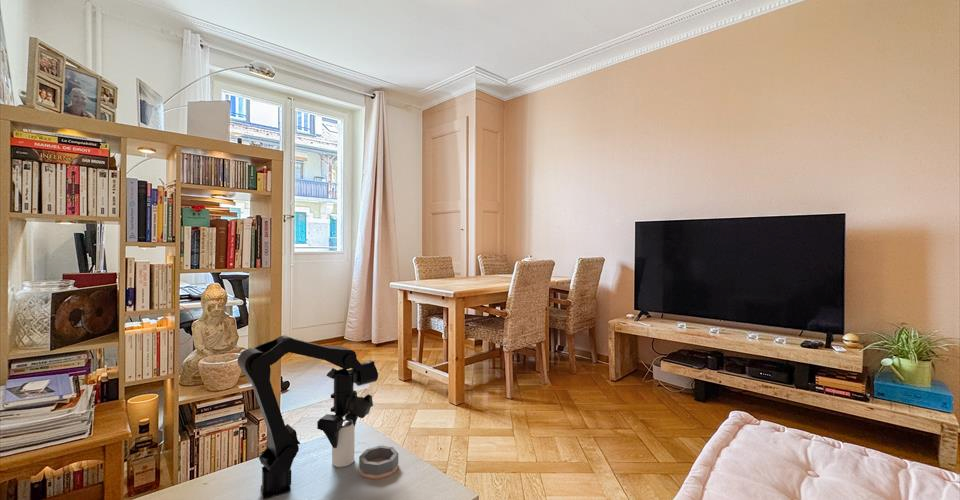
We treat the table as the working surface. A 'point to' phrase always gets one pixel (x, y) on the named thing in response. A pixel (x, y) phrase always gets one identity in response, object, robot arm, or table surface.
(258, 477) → the table surface
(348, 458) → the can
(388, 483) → the table surface
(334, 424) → the robot arm
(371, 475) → the socket
